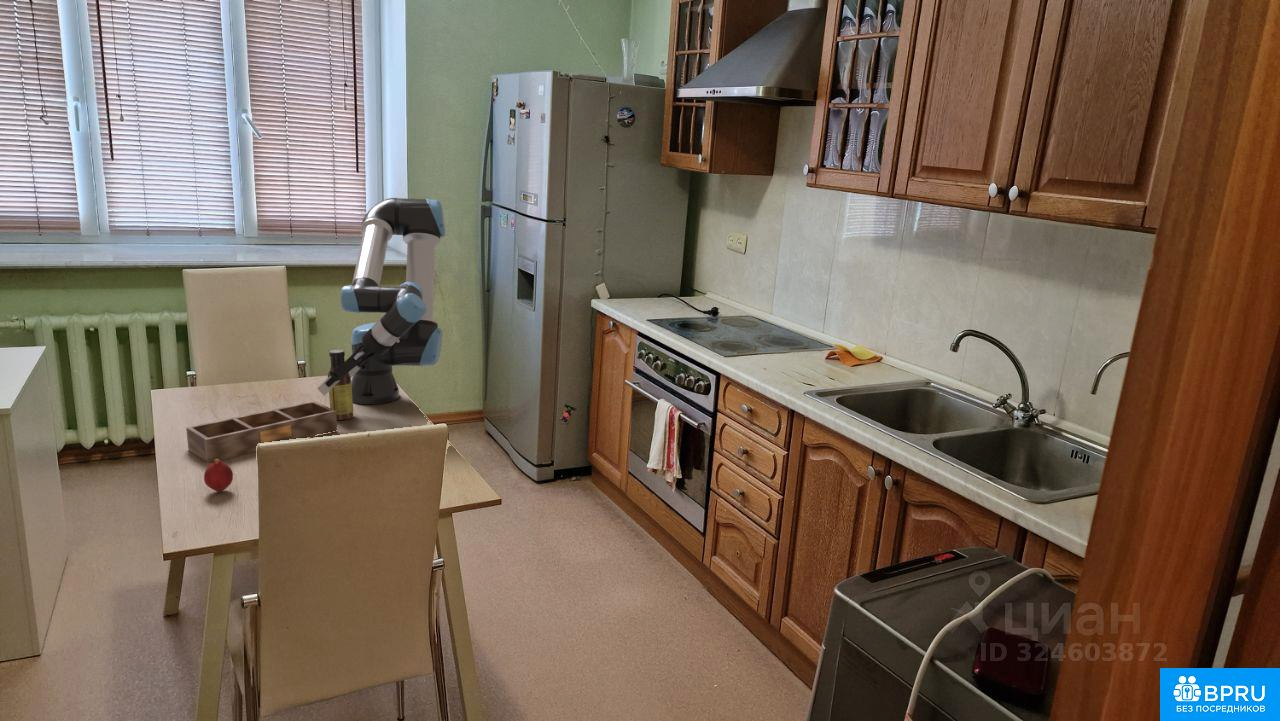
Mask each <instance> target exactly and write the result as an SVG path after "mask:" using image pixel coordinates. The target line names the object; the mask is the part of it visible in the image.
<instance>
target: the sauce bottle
mask: <svg viewBox="0 0 1280 721" xmlns="http://www.w3.org/2000/svg"><path fill="white" fill-rule="evenodd" d="M345 355H346V353H345V350H343V349H332V350H330V351H329V355H328V356H329V357H330V369H329V371H328V374H327V378H328V377H329V376H330V373H329V372H330V371H332V372H333V371H335V370H336V369H337V368H338V367H339V366H340V365H341V364H343V363H344V362H345V361H346V359H345ZM351 380H352V377H351V378H350V375H349V373H347V374H346V375H345V376H343V377H342V378H341V379H340V381H339V382H338V383H337V384H336V385H335V386H334V387H333V388H332V389H331V390H330V391H329V392H328V398H329V408H331V409H333V410H335V411H336V418H337V421H345V420H350V419H352V418H353V417H354V402H353V399H352V387H351Z"/></svg>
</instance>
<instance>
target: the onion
mask: <svg viewBox="0 0 1280 721" xmlns="http://www.w3.org/2000/svg"><path fill="white" fill-rule="evenodd" d="M233 480H234V473H233V469H232V468H231V467H230V466H229V465H228V463H225V462H223V461H221V460H219V459H215V460H214V461H213V462H212V463H210V464H209V466H207V468H206V469H205V472H204V474H203V481H204V483H205V485H206V487H208V488H210V489H212V490H213V491H215V492H217V493H222V492H223V491H225V490H226V489H227V488H229V487H230V486H231V484H232V482H233Z"/></svg>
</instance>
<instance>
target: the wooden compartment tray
mask: <svg viewBox="0 0 1280 721" xmlns="http://www.w3.org/2000/svg"><path fill="white" fill-rule="evenodd" d="M185 428H186V430H185V431H186V440H187V448H188V449H189V450H190V451H189V450H188V451H189V452H191V453H192V452H193V453H192V454H194V455H195V454H196V455H195V456H197V457H198V456H199V458H200V459H201V458H202V459H201V460H203V461H204V460H205V462H206V463H207V462H208V464H209V462H210V463H214V462H213V461H214V460H215V459H219V460H220V461H221V460H226V459H229V458H230V459H231V458H234V457H237V456H238V457H239V456H243V455H247V454H250V453H254V452H257V451H256V446H257V444H258V443H264V442H272V441H280V440H289V439H296V438H307V437H313V438H316V437H315V435H317V434H323V433H328V432H333V431H336V430H337V431H338V420H337V418H336V411H335V410H333V409H331V408H330V407H328V406H326V405H324V404H321V403H320V402H317V401H315V400H312V401H308V402H307V401H306V402H302V403H298V404H297V403H296V404H293V405H287V406H284V407H279V408H274V409H269V410H264V411H259V412H254V413H249V414H245V415H240V416H235V417H229V418H226V419H220V420H217V421H215V420H214V421H212V422H207V423H202V424H197V425H191V426H186V427H185ZM321 436H323V435H318V436H317V437H321Z"/></svg>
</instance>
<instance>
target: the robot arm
mask: <svg viewBox="0 0 1280 721" xmlns="http://www.w3.org/2000/svg"><path fill="white" fill-rule="evenodd" d="M360 233H361V235H362V238H361V241H360V246H359V251H358V255H357V260H356V264H355V268H354V273H353V278H352V282H351V284H349V285H344V286H343V287H342V288H341V290H340V306H341V308H342V310H343V311H344V312H349V313H358V314H359V313H369V314H370V313H373V314H374V313H376V314H377V313H379V314H380V313H382V314H383V313H385V314H384V315H383V316H382V317H380V318H379V319H378V320H377V321H376V322H370V323H365V324H362V325H359V326H356V327H355V328H354V329H353V330H352V332H351V343H350V344H351V351H352V352H351V355H350V356H349V357H348V358H347V359H345V362H344V363H343V364H341V365H340V366H339V367H338V368H337V369H336V370H335V371H333V372H332V371H330V370H329V371H330V372H329V371H328V373H330V376H329V377H328V376H327V378H326V379H325V380H324V381H323V382H322V383H321V384H319V386H318V387H317V390H318V391H319V392H320V393H321V394H322V395H323V396H326V395H327V394H329V391H330V390H331V389H332V388H333V387H334V386H335V385H336V384H337V383H338V382H339V381H340V379H341V378H342V377H343V376H345V375H346V374H347V373H349V375H350V378H351V387H352V399H353V404H359V405H379V404H380V405H381V404H387V403H390V402H393V401H396V400H397V399H399V397H400V389H399V386H398V383H397V381H396V378H395V376H394V374H393V366H397V367H398V366H402V367H403V366H404V367H409V366H410V367H414V366H415V367H416V366H417V367H424V366H426V367H427V366H429V367H430V366H434V365H436V364H438V362H439V359H440V356H441V351H442V346H443V330H442V329H441V328H439V323H438V322H437V321H436V320H435V319H434V297H435V295H434V294H435V266H436V265H435V262H436V246H438V245H439V244H440V243H441V238H443V237H445V236H446V226H445V218H444V212H443V207H442V203H441V201H439V199H438V200H437V199H429V198H407V197H406V198H403V197H402V198H400V197H389V198H385V199H383V200H381V201H379V202H377V203H376V204H375V205H374V206H372V207H371V208H370V209H369V210H368V211H367V213H366V214H365V215H364V217H363V219H362V222H361V226H360ZM396 235H397V236H402V241H403V242H404V243H405V244H406V245H407V246H406V270H405V271H406V273H405V275H406V276H405V282H403V283H401V284H400V285H399V286H380V284H381V279H382V274H383V270H384V269H383V268H384V262H385V258H386V252H387V249H388V244H389V241H390V240H391V239H392V237H393V236H396Z"/></svg>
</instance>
